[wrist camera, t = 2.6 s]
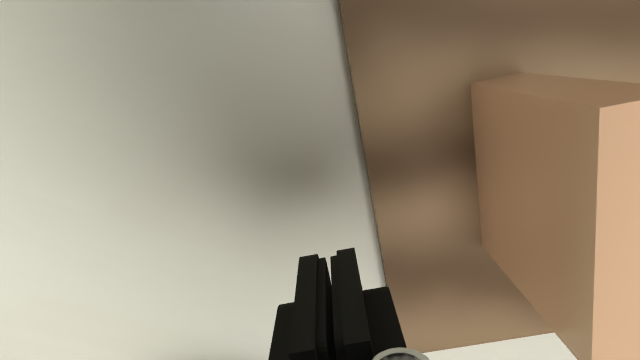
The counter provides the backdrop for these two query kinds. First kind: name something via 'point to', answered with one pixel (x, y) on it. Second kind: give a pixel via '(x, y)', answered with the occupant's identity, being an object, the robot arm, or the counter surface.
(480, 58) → the board
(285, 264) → the counter surface
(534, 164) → the tile
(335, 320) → the robot arm
